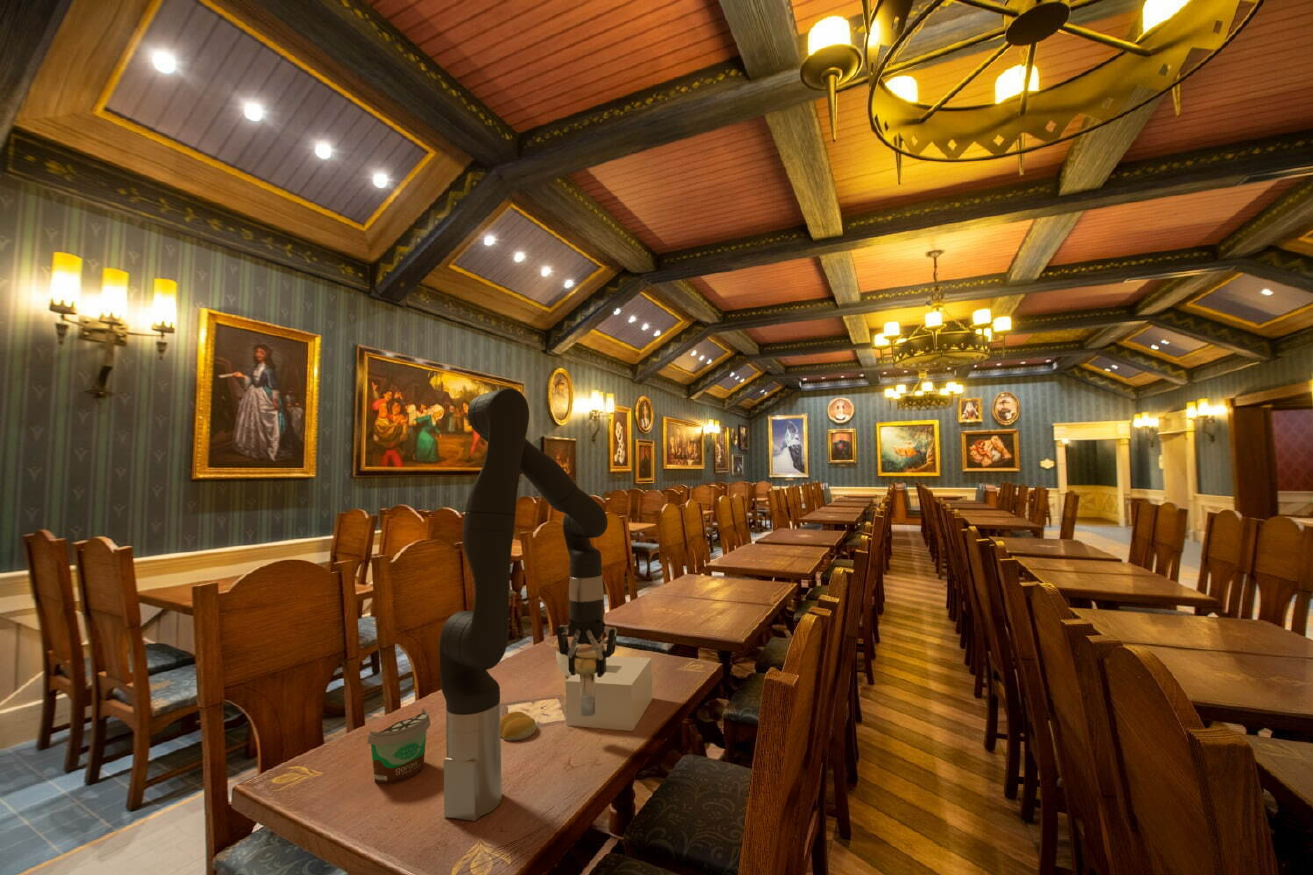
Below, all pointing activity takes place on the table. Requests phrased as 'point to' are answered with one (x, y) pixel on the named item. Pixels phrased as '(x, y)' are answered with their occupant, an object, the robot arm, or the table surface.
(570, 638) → the lidded bowl
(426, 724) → the food container
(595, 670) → the brass-head pin
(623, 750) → the table surface
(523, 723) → the bread roll
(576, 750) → the table surface
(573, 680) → the pin block
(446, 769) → the robot arm
